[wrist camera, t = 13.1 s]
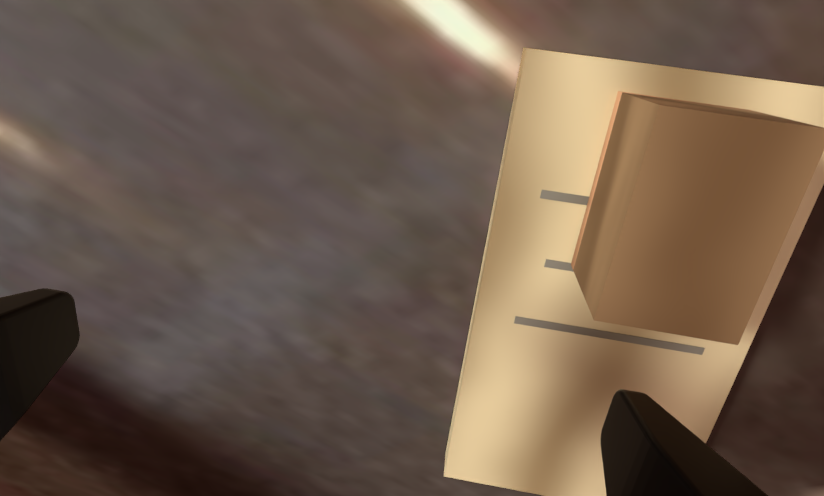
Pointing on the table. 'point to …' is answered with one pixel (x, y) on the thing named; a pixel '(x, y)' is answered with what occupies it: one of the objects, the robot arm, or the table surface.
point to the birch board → (561, 294)
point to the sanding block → (690, 214)
